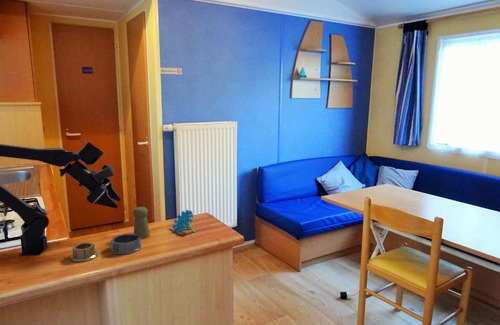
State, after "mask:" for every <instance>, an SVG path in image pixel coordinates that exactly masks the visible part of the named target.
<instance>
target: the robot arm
mask: <svg viewBox="0 0 500 325" xmlns="http://www.w3.org/2000/svg"><path fill="white" fill-rule="evenodd" d="M104 155H105V153H104V152H103V151H102V150H101V149H100V148H98V147H96V146H95V145H94V144H92V143H91V142H90V141H86V142H85V143H84V145H83V146H82V147H81V148H80V149H79V150H78V151H77V152H76V151H67V150H65V148H62V147H47V148H45V147H44V148H34V147H28V146H27V147H26V146H20V145H11V144H5V143H0V157H2V158H10V159H20V160H21V159H22V160H28V161H29V160H30V161H37V162H40V163H41V162H42V163H45V164H47V165H50V166H51V165H52V166H55V167H57V168H58V167H59V173H60V174H59V176H60V177H64V176H65V175H67V176H69V177H70V178H71V179H73V180H74V181H76V182H77V183H78V186H79V187H83V188H85V190H87V191H88V192H87V193H88V195H87V196H86V201H87V202H88V203H90V205H91V204H93V205H100V206H104V207H108V208H112V209H118V208H119V205H118V204H117V203H116V201H117V202H120V201H121V200H122V198H121V197H120V196H119V194H118V193H117V192H116V190H115V189H114V187H113V180H112V178H111V177H113V176H114V175H116V171H115V170H114V167H113V166H112V165H111V164H110V165H109V164H107V163H106V164H103V165H102V167H101V169H100V170H98V171H96V170H93V169H92V170H90V169H89V167H87V166H91V165H92V166H94V165H95V164H96V163H97V162H98V161H99V160H100V159H101V157H103V156H104ZM80 161H81V162H80ZM82 162H83V163H84V164H85V165H84V164H83V163H82ZM61 167H62V168H61ZM0 203H2V204H3V205H4V206H6V207H7V208H9V209H10V210H12V211H13V212H14V213H16V214H17V215H18V216H19V218H20V219H21V220H22V221H23V224H22V225H21V226H20V229H21V235H20V236H19V237H20V246H21V247H20V248H21V252H19V256H23V257H24V256H40V255H41V254H43V253H44V252H45V251H46V250H47V249H48V248H49V245H48V239H47V238H48V237H47V235H46V233H45V229H47V227H48V226H49V224H50V218H49V216H48V213H47V211H46V209H45V208H42V206H40V205H39V204H38V203H37V202H34V203H33V205H32V204H29V203H27V202H25V201H24V200H22V199H21V198H20V197H19V196H17V195H16V194H14V193H13V192H11V191H10V190H9V189H8V188H6V187H5V186H3V185H2V184H1V183H0Z"/></svg>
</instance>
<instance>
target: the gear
mask: <svg viewBox="0 0 500 325" xmlns="http://www.w3.org/2000/svg"><path fill="white" fill-rule="evenodd" d="M180 213H181V214H178V215H177V216H176V218H177V219H174V220H173V223H175V224H172V227H171V228H173V232H175V233H177V234H180V232H185V230H186V229H187V230H188V231H192V232H193V233H195V232H196V231H195V229H193V226H192V225H191V223H193V218H194V214H193V211H192V210H188V209H186V210H185V211H184V210H183V211H181V212H180Z"/></svg>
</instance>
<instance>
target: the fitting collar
mask: <svg viewBox="0 0 500 325" xmlns="http://www.w3.org/2000/svg"><path fill="white" fill-rule="evenodd" d="M110 248H111V249H110V251H111V253H112V254H114V255H118V256H119V255H120V256H121V255H124V256H125V255H130V254H134V253H137V252H138V251H140V250H141V249H142V239H141V237H140V236H139V235H138V234H134V232H133V233H132V232H131V233H123V234H118V235H116V236H113V237H112V238H111V239H110ZM136 251H137V252H136Z"/></svg>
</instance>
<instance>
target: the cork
mask: <svg viewBox="0 0 500 325" xmlns="http://www.w3.org/2000/svg"><path fill="white" fill-rule="evenodd" d="M148 212H149V210H148V208H146V207H145V206H138V207H135V208H134V209H133V211H132V215H133V217H134V225H133V234H138V235H139V236H140V237H141V240H145V239H148V238H150V237H151V232H150V228H149V223H148V222H149V221H148V217H147V216H148Z"/></svg>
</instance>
